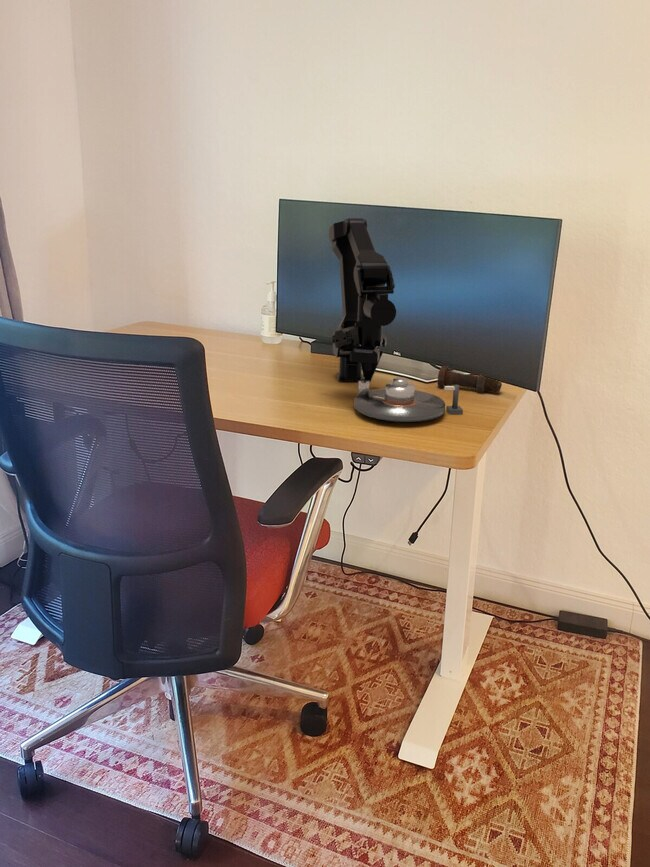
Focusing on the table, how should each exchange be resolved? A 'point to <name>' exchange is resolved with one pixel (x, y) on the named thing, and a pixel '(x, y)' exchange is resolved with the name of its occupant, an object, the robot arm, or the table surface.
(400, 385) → the cap
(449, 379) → the bolt
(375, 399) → the turntable
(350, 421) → the table surface
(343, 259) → the robot arm
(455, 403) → the dial pointer
